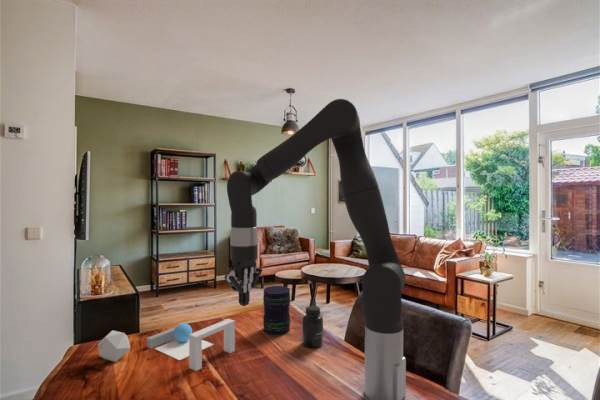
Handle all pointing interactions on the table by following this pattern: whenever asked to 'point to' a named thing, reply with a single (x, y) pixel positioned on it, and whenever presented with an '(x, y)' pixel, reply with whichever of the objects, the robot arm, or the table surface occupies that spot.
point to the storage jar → (276, 310)
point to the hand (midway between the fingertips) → (244, 304)
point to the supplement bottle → (312, 327)
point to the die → (113, 346)
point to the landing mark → (179, 349)
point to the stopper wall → (160, 338)
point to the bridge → (196, 337)
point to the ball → (182, 332)
